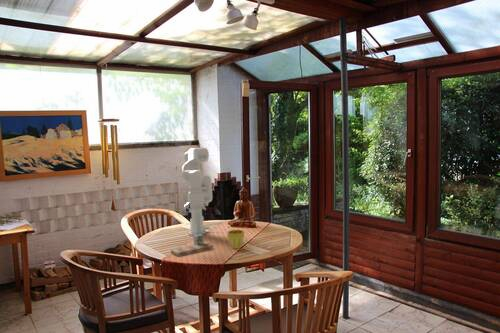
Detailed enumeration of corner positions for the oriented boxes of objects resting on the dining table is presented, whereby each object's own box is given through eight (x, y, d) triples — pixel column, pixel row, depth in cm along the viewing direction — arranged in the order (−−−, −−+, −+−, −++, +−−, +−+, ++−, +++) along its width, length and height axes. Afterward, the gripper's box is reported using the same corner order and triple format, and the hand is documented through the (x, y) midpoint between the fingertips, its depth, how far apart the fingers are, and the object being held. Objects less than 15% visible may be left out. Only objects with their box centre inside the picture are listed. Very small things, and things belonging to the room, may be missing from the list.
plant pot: (238, 250, 247) (238, 234, 247) (224, 248, 253) (224, 232, 252) (247, 245, 256) (247, 230, 255) (234, 244, 262) (233, 229, 261)
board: (205, 245, 260) (205, 242, 260) (213, 248, 253) (212, 245, 253) (171, 253, 246) (171, 249, 246) (177, 256, 239) (177, 252, 239)
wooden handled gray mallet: (200, 244, 263) (200, 234, 263) (211, 248, 253) (210, 237, 252) (194, 246, 260) (193, 235, 260) (204, 250, 250) (203, 239, 249)
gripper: (204, 188, 266) (205, 214, 267) (180, 191, 256) (181, 218, 257) (210, 189, 260) (211, 216, 261) (185, 192, 250) (187, 220, 251)
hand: (196, 217), depth 259 cm, fingers open, 9 cm apart
